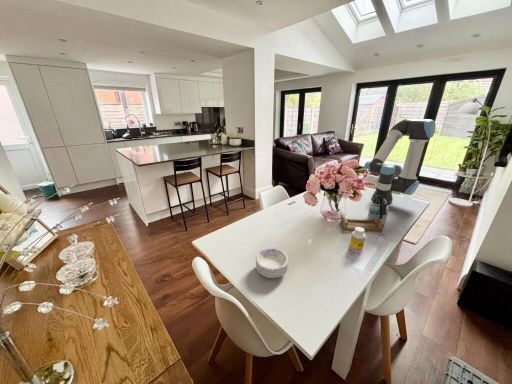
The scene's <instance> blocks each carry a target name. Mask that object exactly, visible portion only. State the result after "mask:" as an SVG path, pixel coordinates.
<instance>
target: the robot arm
mask: <svg viewBox="0 0 512 384" xmlns="http://www.w3.org/2000/svg"><path fill="white" fill-rule="evenodd" d="M436 125H437V124H436V122H435V120H433V119H428V118H405V119H403V120H401V121H398V122H397V123H395V124H394V125H393V126H392V127H391V128H390V130H389V131H388V133H387V136H386V139H385V140H384V141H383V143H382V145H381V146H380V148H379V150H377V152H376V153H375V154H374V157H373V158H372V159H371V160H370V161H366V162H365V163H364V166H363V168H368V169H369V172H368V173H372V174H375V175H378V178H377V182H376V186H375V191H374V192H373V193H372V195H371V200H372V201H373V202H372V203H374V204H380V208H379V214H378V218H379V219H380V220H381V221H382V218H383V215H386V208H387V205H389V204H392V203H393V199H394V197H393V192H396V193H399V194H403V195H406V196H411V195H413V194H415V192H416V190H417V189H418V187H419V184H420V181H419V180H418V177H417V176H416V174H417V172H418V167H419V165H420V161H421V157H422V155H423V151H424V148H425V144H426V143H427V142H428V141H430V138H431V139H432V138H434V135H435V132H436ZM404 136H407V137H408V140H409V145H408V150H407V153H406V155H405V160H404V163H403V167H402V166H401V165H398V164H386V163H385V162H386V161H387V159H388V158H389V156H390V154H391V152H392V151H393V149H394V148H395V146H396V145H397V143H398V142H399V140H401V139H402V138H403V137H404Z"/></svg>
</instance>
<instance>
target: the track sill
mask: <svg viewBox="0 0 512 384" xmlns="http://www.w3.org/2000/svg"><path fill="white" fill-rule="evenodd" d="M339 220H340V221H339V223H340V224H341V226H342V229H343V230H344V232H353V231H355V227H361V228H363V229H364V230H365V231H364V233H372V234H373V233H374V234H383V231H384V228H385V223H382V221H381V220H380V219H379V218H378V217H377V216H375V217H374V220H368V219H352V218H346V216H345V215H344V214H342V213H341V214H340V219H339Z"/></svg>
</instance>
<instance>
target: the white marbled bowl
mask: <svg viewBox="0 0 512 384" xmlns="http://www.w3.org/2000/svg"><path fill="white" fill-rule="evenodd" d="M288 268H289V257H288V254H287V253H286V252H284V251H283V250H281V249H279V248H276V247H275V248H274V247H273V248H272V247H268V248H264V249H262V250H260V251H259V252H258V253H257V254H256V256H255V269H256V271H257V272H258V273H259V274H260V275H261V276H263V277H266V278H267V279H276V278H280V277H283V276H284V275H285V274H286V273H287V272H288Z"/></svg>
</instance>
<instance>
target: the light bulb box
mask: <svg viewBox="0 0 512 384" xmlns="http://www.w3.org/2000/svg"><path fill="white" fill-rule="evenodd" d="M388 205H389V204H387V208H386V215H383V218H382V223H383V224H386V222H387V218H388V216H389V212H390V209H389V206H388ZM368 208H369V209H368V213H367V220H374V217H375V216H377V217H378V214H379V208H380V204H374V203H373V202H370V205H369V207H368Z"/></svg>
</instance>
